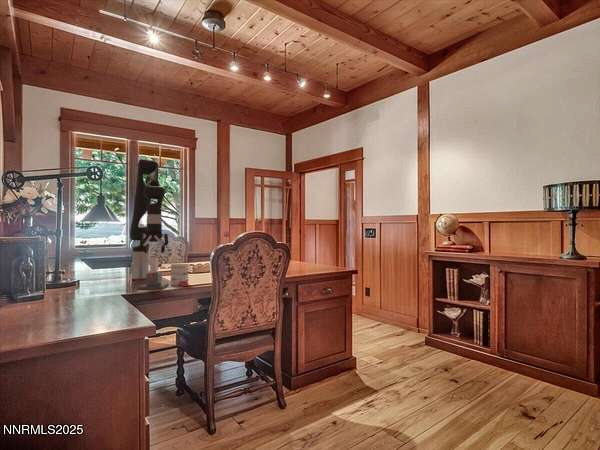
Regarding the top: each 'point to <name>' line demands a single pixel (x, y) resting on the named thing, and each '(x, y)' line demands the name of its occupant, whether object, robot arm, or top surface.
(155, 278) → the jack base
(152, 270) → the column
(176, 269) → the ink box
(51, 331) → the top surface
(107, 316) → the top surface
